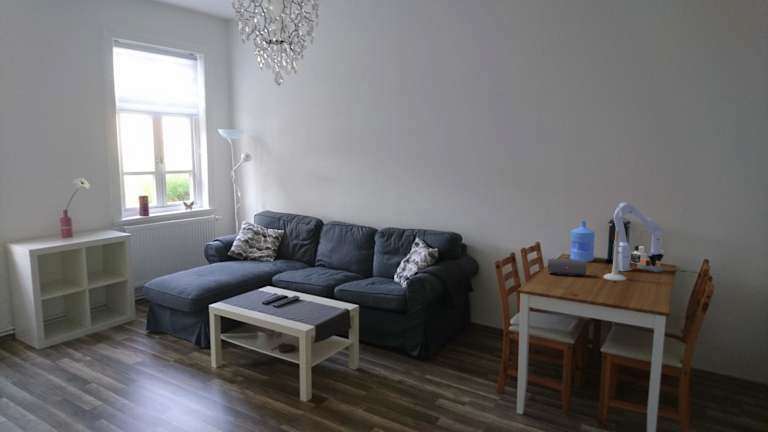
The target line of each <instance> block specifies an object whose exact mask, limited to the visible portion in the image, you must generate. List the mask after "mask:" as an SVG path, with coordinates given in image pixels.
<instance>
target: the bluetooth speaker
mask: <svg viewBox="0 0 768 432" xmlns="http://www.w3.org/2000/svg"><path fill="white" fill-rule="evenodd" d="M547 272H548V273H554V274H558V273H559V274H568V275H567V276H573V275H575V276H576V275H587V262H586V261H583V260H572V259H571V258H569V259H568V258H547ZM559 274H558V275H559Z"/></svg>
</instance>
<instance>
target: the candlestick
mask: <svg viewBox="0 0 768 432" xmlns="http://www.w3.org/2000/svg"><path fill="white" fill-rule="evenodd" d="M614 234H615V237H614V240H613V244H614V252H613V261H612V269H611V273H606V274H604V275H603V278H604V279H605V280H609V281H616V282H620V281H621V282H622V281H626V280H627V277H626V276H625V275H623V274H620V272H619V270H618V254H619V252H618V245H619V231H616V230H615V233H614Z"/></svg>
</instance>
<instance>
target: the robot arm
mask: <svg viewBox="0 0 768 432" xmlns="http://www.w3.org/2000/svg"><path fill="white" fill-rule="evenodd" d="M628 214H631V215H634V216H635V217H636V218H637V219H638V220H640V221H641V222H642V225H643V226H644V227H645V228H646V230H648V231H650V233H651V234H652V235H651V246H650V247H651V249H650V251H648V252H647V258H648V259H649V260H650V262H651V266H655V265H656V261H660V262H661V263H662V260H663V258H664V254H665V250H662V246H663V245H662V244H663V235H664V234H665V232H664V229H663V228H662V227H660V226H659V224H657V223H656V222H654V220H653V218H650V217H646V216H644V214H643V213H642V212H641V211H639V210H638V208H636V207H634V206H632V204H630V203H628V202H626V201H625V202H624V201H622V202H619V204H618V205H617V206H616V209H615V211H614V214H613V221H614V226H615V231H619V245H618V271H620V272H626V271H628V272H629V271H632V270H633V268H631V253H632V249H631V248H630V245H629V243H628V241H627V240H628V239H627V234H626V229H625V224H624V220H623V219H624V217H626V215H628Z"/></svg>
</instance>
